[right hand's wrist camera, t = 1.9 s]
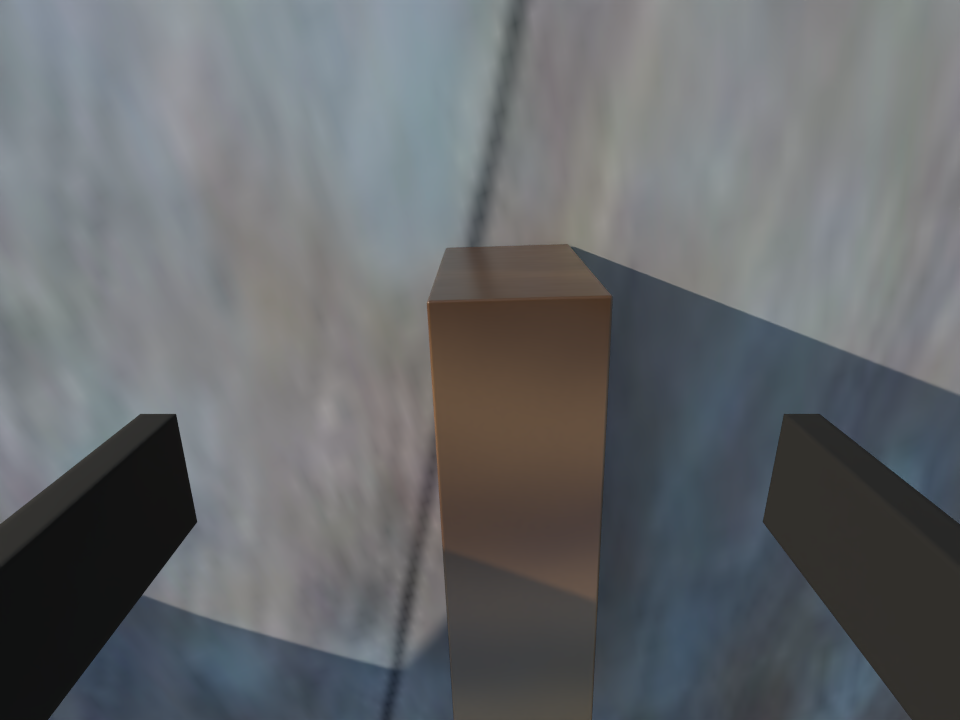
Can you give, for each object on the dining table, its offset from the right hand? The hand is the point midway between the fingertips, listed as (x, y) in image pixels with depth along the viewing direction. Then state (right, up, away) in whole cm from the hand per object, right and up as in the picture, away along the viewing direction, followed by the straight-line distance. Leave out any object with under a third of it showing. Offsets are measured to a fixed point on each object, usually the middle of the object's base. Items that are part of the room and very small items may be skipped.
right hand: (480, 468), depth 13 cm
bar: (+2, -4, +16) cm, 17 cm away
